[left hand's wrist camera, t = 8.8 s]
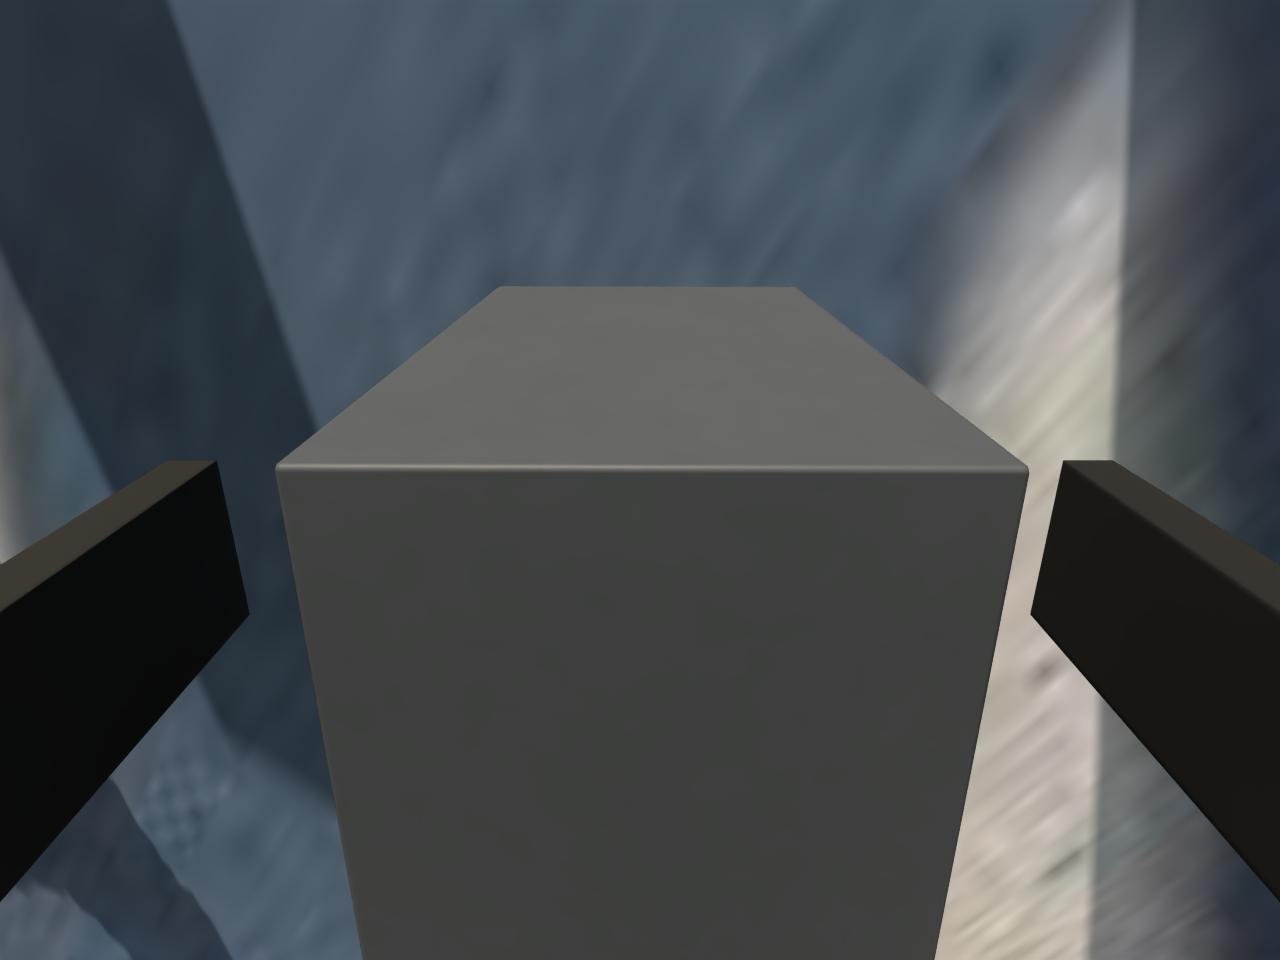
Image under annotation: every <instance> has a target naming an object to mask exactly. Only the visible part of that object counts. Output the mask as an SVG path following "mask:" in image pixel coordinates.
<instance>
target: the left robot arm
mask: <svg viewBox="0 0 1280 960" xmlns="http://www.w3.org/2000/svg"><path fill="white" fill-rule="evenodd" d="M249 615H250V614H249V609H248V604H247V600H246V595H245V590H244V586H243V581H242V576H241V572H240V567H239V562H238V558H237V553H236V548H235V544H234V539H233V534H232V530H231V525H230V520H229V515H228V511H227V506H226V501H225V497H224V492H223V487H222V483H221V478H220V473H219V469H218V464H217V460H167V461H166V462H164V463H162V464H161V465H159V466H158V467H156V468H154V469H153V470H151V471H150V472H148V473H146V474H145V475H143V476H142V477H140V478H139V479H137V480H135V481H134V482H132V483H131V484H129V485H127V486H126V487H124V488H123V489H121V490H119V491H118V492H116V493H115V494H113V495H111V496H110V497H108V498H107V499H105V500H103V501H102V502H100V503H99V504H97V505H95V506H94V507H92V508H91V509H89V510H87V511H86V512H84V513H83V514H81V515H79V516H78V517H76V518H75V519H73V520H71V521H70V522H68V523H67V524H65V525H64V526H62V527H60V528H59V529H57V530H56V531H54V532H52V533H51V534H49V535H48V536H46V537H44V538H43V539H41V540H40V541H38V542H36V543H35V544H33V545H32V546H30V547H28V548H27V549H25V550H24V551H22V552H20V553H19V554H17V555H16V556H14V557H12V558H11V559H9V560H8V561H6V562H4V563H3V564H1V565H0V902H1V901H2V899H3V898H4V897H5V896H6V895H7V894H8V892H9V891H10V890H11V889H12V888H13V887H14V886H15V884H16V883H17V882H18V881H19V880H20V879H21V877H22V876H23V875H24V874H25V873H26V872H27V871H28V869H29V868H30V867H31V866H32V865H33V864H34V862H35V861H36V860H37V859H38V858H39V857H40V856H41V854H42V853H43V852H44V851H45V850H46V849H47V847H48V846H49V845H50V844H51V843H52V842H53V841H54V839H55V838H56V837H57V836H58V835H59V834H60V832H61V831H62V830H63V829H64V828H65V827H66V826H67V824H68V823H69V822H70V821H71V820H72V819H73V817H74V816H75V815H76V814H77V813H78V812H79V811H80V809H81V808H82V807H83V806H84V805H85V804H86V802H87V801H88V800H89V799H90V798H91V797H92V796H93V794H94V793H95V792H96V791H97V790H98V789H99V787H100V786H101V785H102V784H103V783H104V782H105V781H106V779H107V778H108V777H109V776H110V775H111V774H112V773H113V771H114V770H115V769H116V768H117V767H118V766H119V764H120V763H121V762H122V761H123V760H124V759H125V758H126V756H127V755H128V754H129V753H130V752H131V751H132V749H133V748H134V747H135V746H136V745H137V744H138V743H139V741H140V740H141V739H142V738H143V737H144V736H145V734H146V733H147V732H148V731H149V730H150V729H151V728H152V726H153V725H154V724H155V723H156V722H157V721H158V719H159V718H160V717H161V716H162V715H163V714H164V713H165V711H166V710H167V709H168V708H169V707H170V706H171V704H172V703H173V702H174V701H175V700H176V699H177V698H178V696H179V695H180V694H181V693H182V692H183V691H184V689H185V688H186V687H187V686H188V685H189V684H190V683H191V681H192V680H193V679H194V678H195V677H196V676H197V674H198V673H199V672H200V671H201V670H202V669H203V668H204V666H205V665H206V664H207V663H208V662H209V661H210V659H211V658H212V657H213V656H214V655H215V654H216V653H217V651H218V650H219V649H220V648H221V647H222V646H223V644H224V643H225V642H226V641H227V640H228V639H229V638H230V636H231V635H232V634H233V633H234V632H235V631H236V630H237V628H238V627H239V626H240V625H241V624H242V623H243V621H244V620H245V619H246V618H247V617H248V616H249ZM1030 615H1031V616H1032V617H1033V618H1034V619H1035V620H1036V621H1037V623H1038V624H1039V625H1040V626H1041V627H1042V628H1043V630H1044V631H1045V632H1046V633H1047V634H1048V635H1049V636H1050V638H1051V639H1052V640H1053V641H1054V642H1055V643H1056V644H1057V646H1058V647H1059V648H1060V649H1061V650H1062V651H1063V653H1064V654H1065V655H1066V656H1067V657H1068V658H1069V659H1070V661H1071V662H1072V663H1073V664H1074V665H1075V666H1076V668H1077V669H1078V670H1079V671H1080V672H1081V673H1082V674H1083V676H1084V677H1085V678H1086V679H1087V680H1088V681H1089V683H1090V684H1091V685H1092V686H1093V687H1094V688H1095V689H1096V691H1097V692H1098V693H1099V694H1100V695H1101V696H1102V698H1103V699H1104V700H1105V701H1106V702H1107V703H1108V704H1109V706H1110V707H1111V708H1112V709H1113V710H1114V711H1115V713H1116V714H1117V715H1118V716H1119V717H1120V718H1121V719H1122V721H1123V722H1124V723H1125V724H1126V725H1127V726H1128V728H1129V729H1130V730H1131V731H1132V732H1133V733H1134V734H1135V736H1136V737H1137V738H1138V739H1139V740H1140V741H1141V743H1142V744H1143V745H1144V746H1145V747H1146V748H1147V749H1148V751H1149V752H1150V753H1151V754H1152V755H1153V756H1154V758H1155V759H1156V760H1157V761H1158V762H1159V763H1160V764H1161V766H1162V767H1163V768H1164V769H1165V770H1166V771H1167V773H1168V774H1169V775H1170V776H1171V777H1172V778H1173V779H1174V781H1175V782H1176V783H1177V784H1178V785H1179V786H1180V787H1181V789H1182V790H1183V791H1184V792H1185V793H1186V794H1187V796H1188V797H1189V798H1190V799H1191V800H1192V801H1193V802H1194V804H1195V805H1196V806H1197V807H1198V808H1199V809H1200V811H1201V812H1202V813H1203V814H1204V815H1205V816H1206V817H1207V819H1208V820H1209V821H1210V822H1211V823H1212V824H1213V826H1214V827H1215V828H1216V829H1217V830H1218V831H1219V832H1220V834H1221V835H1222V836H1223V837H1224V838H1225V839H1226V841H1227V842H1228V843H1229V844H1230V845H1231V846H1232V847H1233V849H1234V850H1235V851H1236V852H1237V853H1238V854H1239V856H1240V857H1241V858H1242V859H1243V860H1244V861H1245V862H1246V864H1247V865H1248V866H1249V867H1250V868H1251V869H1252V871H1253V872H1254V873H1255V874H1256V875H1257V876H1258V877H1259V879H1260V880H1261V881H1262V882H1263V883H1264V884H1265V886H1266V887H1267V888H1268V889H1269V890H1270V891H1271V892H1272V894H1273V895H1274V896H1275V897H1276V898H1277V899H1278V901H1279V902H1280V565H1279V564H1277V563H1276V562H1274V561H1272V560H1271V559H1269V558H1268V557H1266V556H1264V555H1263V554H1261V553H1260V552H1258V551H1256V550H1255V549H1253V548H1252V547H1250V546H1248V545H1247V544H1245V543H1244V542H1242V541H1240V540H1239V539H1237V538H1236V537H1234V536H1232V535H1231V534H1229V533H1228V532H1226V531H1224V530H1223V529H1221V528H1220V527H1218V526H1216V525H1215V524H1213V523H1212V522H1210V521H1209V520H1207V519H1205V518H1204V517H1202V516H1201V515H1199V514H1197V513H1196V512H1194V511H1193V510H1191V509H1189V508H1188V507H1186V506H1185V505H1183V504H1181V503H1180V502H1178V501H1177V500H1175V499H1173V498H1172V497H1170V496H1169V495H1167V494H1165V493H1164V492H1162V491H1161V490H1159V489H1157V488H1156V487H1154V486H1153V485H1151V484H1149V483H1148V482H1146V481H1145V480H1143V479H1141V478H1140V477H1138V476H1137V475H1135V474H1134V473H1132V472H1130V471H1129V470H1127V469H1126V468H1124V467H1122V466H1121V465H1119V464H1118V463H1116V462H1114V461H1113V460H1063V464H1062V469H1061V473H1060V478H1059V483H1058V487H1057V492H1056V497H1055V501H1054V506H1053V511H1052V515H1051V520H1050V525H1049V530H1048V534H1047V539H1046V544H1045V548H1044V553H1043V558H1042V562H1041V567H1040V572H1039V576H1038V581H1037V586H1036V590H1035V595H1034V600H1033V604H1032V609H1031V614H1030Z"/></svg>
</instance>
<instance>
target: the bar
mask: <svg viewBox="0 0 1280 960" xmlns="http://www.w3.org/2000/svg"><path fill="white" fill-rule="evenodd" d="M275 475H276V480H277V486H278V491H279V497H280V502H281V508H282V513H283V519H284V524H285V530H286V536H287V541H288V547H289V552H290V558H291V563H292V569H293V574H294V580H295V585H296V591H297V597H298V602H299V608H300V613H301V619H302V624H303V630H304V635H305V641H306V646H307V652H308V658H309V663H310V669H311V674H312V680H313V685H314V691H315V696H316V702H317V708H318V713H319V719H320V724H321V730H322V735H323V741H324V746H325V752H326V757H327V763H328V769H329V774H330V780H331V785H332V791H333V796H334V802H335V807H336V813H337V818H338V824H339V830H340V835H341V841H342V846H343V852H344V857H345V863H346V868H347V874H348V879H349V885H350V891H351V896H352V902H353V907H354V913H355V918H356V924H357V929H358V935H359V940H360V946H361V952H362V957H363V960H934V959H935V954H936V949H937V943H938V938H939V933H940V928H941V923H942V918H943V913H944V908H945V902H946V897H947V892H948V887H949V882H950V877H951V872H952V867H953V861H954V856H955V851H956V846H957V841H958V836H959V831H960V826H961V820H962V815H963V810H964V805H965V800H966V795H967V790H968V785H969V779H970V774H971V769H972V764H973V759H974V754H975V749H976V744H977V738H978V733H979V728H980V723H981V718H982V713H983V708H984V703H985V697H986V692H987V687H988V682H989V677H990V672H991V667H992V662H993V656H994V651H995V646H996V641H997V636H998V631H999V626H1000V621H1001V615H1002V610H1003V605H1004V600H1005V595H1006V590H1007V585H1008V580H1009V574H1010V569H1011V564H1012V559H1013V554H1014V549H1015V544H1016V539H1017V533H1018V528H1019V523H1020V518H1021V513H1022V508H1023V503H1024V498H1025V492H1026V487H1027V482H1028V477H1029V469H1028V466H1026V465H1025V464H1024V463H1022V462H1021V461H1020V460H1019V459H1017V458H1016V457H1015V456H1013V455H1012V454H1011V453H1010V452H1008V451H1007V450H1006V449H1004V448H1003V447H1002V446H1000V445H999V444H998V443H997V442H995V441H994V440H993V439H991V438H990V437H989V436H987V435H986V434H985V433H984V432H982V431H981V430H980V429H978V428H977V427H976V426H974V425H973V424H972V423H971V422H969V421H968V420H967V419H965V418H964V417H963V416H962V415H960V414H959V413H958V412H956V411H955V410H954V409H952V408H951V407H950V406H949V405H947V404H946V403H945V402H943V401H942V400H941V399H939V398H938V397H937V396H936V395H934V394H933V393H932V392H930V391H929V390H928V389H926V388H925V387H924V386H923V385H921V384H920V383H919V382H917V381H916V380H915V379H914V378H912V377H911V376H910V375H908V374H907V373H906V372H904V371H903V370H902V369H901V368H899V367H898V366H897V365H895V364H894V363H893V362H891V361H890V360H889V359H888V358H886V357H885V356H884V355H882V354H881V353H880V352H879V351H877V350H876V349H875V348H873V347H872V346H871V345H869V344H868V343H867V342H866V341H864V340H863V339H862V338H860V337H859V336H858V335H856V334H855V333H854V332H853V331H851V330H850V329H849V328H847V327H846V326H845V325H843V324H842V323H841V322H840V321H838V320H837V319H836V318H834V317H833V316H832V315H831V314H829V313H828V312H827V311H825V310H824V309H823V308H821V307H820V306H819V305H818V304H816V303H815V302H814V301H812V300H811V299H810V298H808V297H807V296H806V295H805V294H803V293H802V292H801V291H799V290H798V289H797V288H795V287H588V286H500V287H498V288H497V289H495V290H494V291H493V292H492V293H490V294H489V295H488V296H487V297H485V298H484V299H483V300H482V301H480V302H479V303H478V304H477V305H475V306H474V307H473V308H472V309H470V310H469V311H468V312H467V313H465V314H464V315H463V316H462V317H460V318H459V319H458V320H457V321H455V322H454V323H453V324H452V325H450V326H449V327H448V328H447V329H445V330H444V331H443V332H442V333H440V334H439V335H438V336H437V337H435V338H434V339H433V340H432V341H430V342H429V343H428V344H427V345H425V346H424V347H423V348H422V349H420V350H419V351H418V352H417V353H415V354H414V355H413V356H412V357H410V358H409V359H408V360H407V361H405V362H404V363H403V364H402V365H400V366H399V367H398V368H396V369H395V370H394V371H393V372H391V373H390V374H389V375H388V376H386V377H385V378H384V379H383V380H381V381H380V382H379V383H378V384H376V385H375V386H374V387H373V388H371V389H370V390H369V391H368V392H366V393H365V394H364V395H363V396H361V397H360V398H359V399H358V400H356V401H355V402H354V403H353V404H351V405H350V406H349V407H348V408H346V409H345V410H344V411H343V412H341V413H340V414H339V415H338V416H336V417H335V418H334V419H333V420H331V421H330V422H329V423H328V424H326V425H325V426H324V427H323V428H321V429H320V430H319V431H318V432H316V433H315V434H314V435H313V436H311V437H310V438H309V439H308V440H306V441H305V442H304V443H303V444H301V445H300V446H299V447H298V448H296V449H295V450H294V451H292V452H291V453H290V454H289V455H287V456H286V457H285V458H284V459H282V460H281V461H280V462H279V463H277V464H276V468H275Z"/></svg>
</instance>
